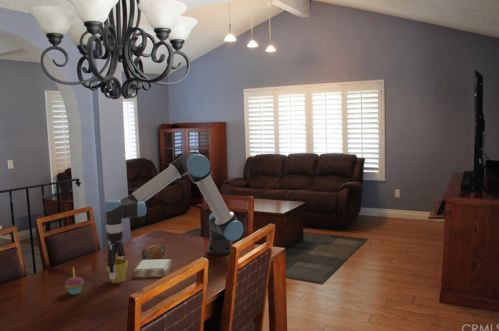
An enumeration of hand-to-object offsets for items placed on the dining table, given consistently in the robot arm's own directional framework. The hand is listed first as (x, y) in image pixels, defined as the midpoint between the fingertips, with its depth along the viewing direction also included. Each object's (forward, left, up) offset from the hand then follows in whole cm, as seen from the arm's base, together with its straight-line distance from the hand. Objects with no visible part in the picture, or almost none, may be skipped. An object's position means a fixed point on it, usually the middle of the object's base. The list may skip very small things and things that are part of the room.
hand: (117, 273), depth 215 cm
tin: (-11, -30, -4) cm, 32 cm away
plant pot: (0, 0, -4) cm, 4 cm away
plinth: (-15, -12, -4) cm, 20 cm away
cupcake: (+16, +13, -4) cm, 21 cm away
